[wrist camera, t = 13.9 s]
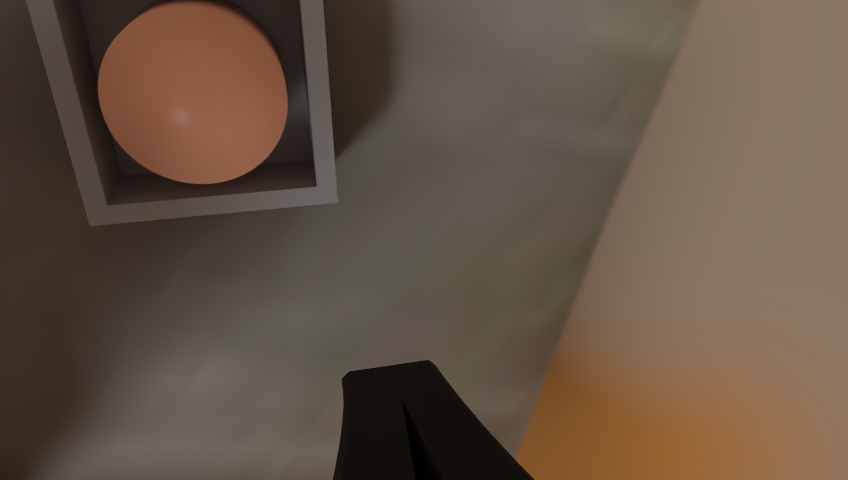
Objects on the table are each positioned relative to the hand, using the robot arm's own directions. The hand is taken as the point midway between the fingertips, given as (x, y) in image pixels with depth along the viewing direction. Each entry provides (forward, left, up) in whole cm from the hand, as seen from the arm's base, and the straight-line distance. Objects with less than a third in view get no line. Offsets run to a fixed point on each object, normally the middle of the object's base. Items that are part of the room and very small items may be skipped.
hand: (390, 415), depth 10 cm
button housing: (+3, +3, -10) cm, 11 cm away
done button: (+3, +3, -10) cm, 10 cm away
